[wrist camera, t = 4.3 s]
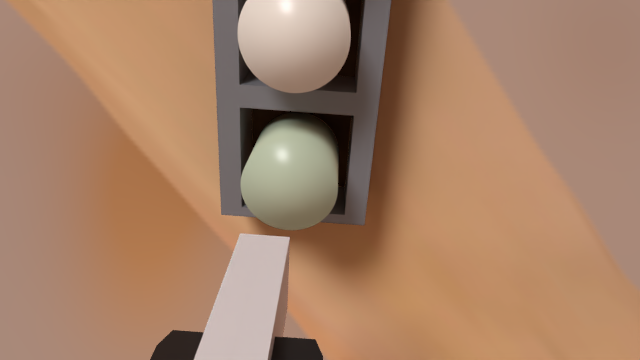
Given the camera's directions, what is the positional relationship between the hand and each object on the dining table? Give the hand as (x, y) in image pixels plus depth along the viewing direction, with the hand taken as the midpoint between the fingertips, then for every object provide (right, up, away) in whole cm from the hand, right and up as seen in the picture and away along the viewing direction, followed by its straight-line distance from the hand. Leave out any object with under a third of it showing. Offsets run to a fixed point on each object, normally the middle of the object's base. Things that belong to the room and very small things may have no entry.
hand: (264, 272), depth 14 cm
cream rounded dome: (+1, +10, +6) cm, 11 cm away
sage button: (+1, +4, +8) cm, 9 cm away
